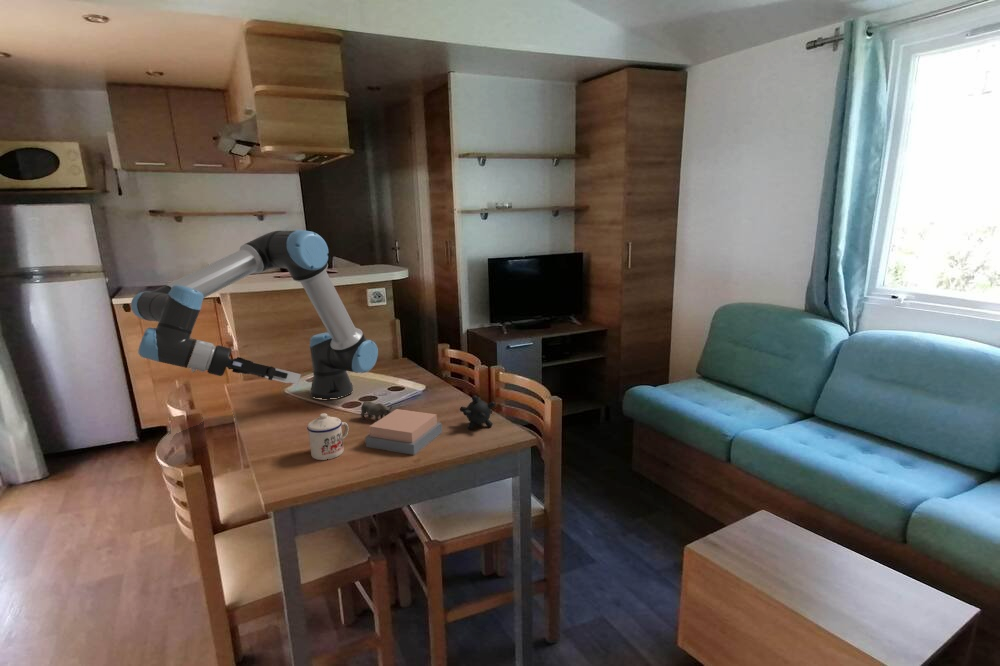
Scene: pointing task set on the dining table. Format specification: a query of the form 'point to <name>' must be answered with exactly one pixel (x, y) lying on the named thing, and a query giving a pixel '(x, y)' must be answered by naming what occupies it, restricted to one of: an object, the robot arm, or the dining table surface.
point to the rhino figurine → (374, 410)
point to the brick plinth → (404, 444)
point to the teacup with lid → (326, 437)
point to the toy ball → (478, 412)
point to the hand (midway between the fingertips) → (294, 379)
